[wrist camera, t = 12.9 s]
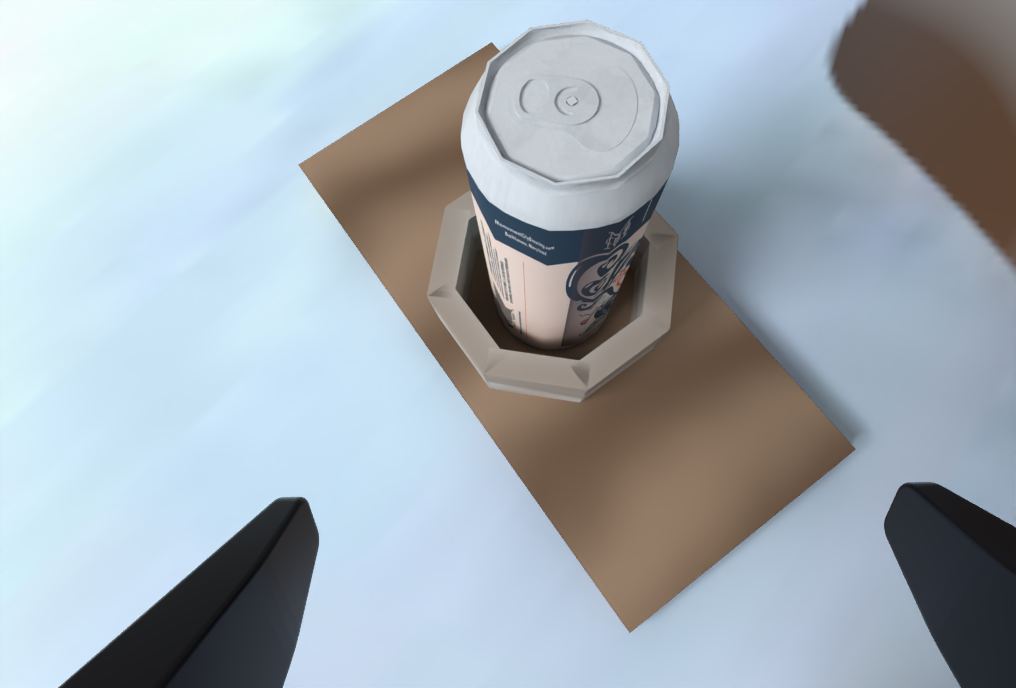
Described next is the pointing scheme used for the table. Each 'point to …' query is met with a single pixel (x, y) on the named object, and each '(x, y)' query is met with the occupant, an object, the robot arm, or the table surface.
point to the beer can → (566, 173)
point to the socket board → (634, 431)
